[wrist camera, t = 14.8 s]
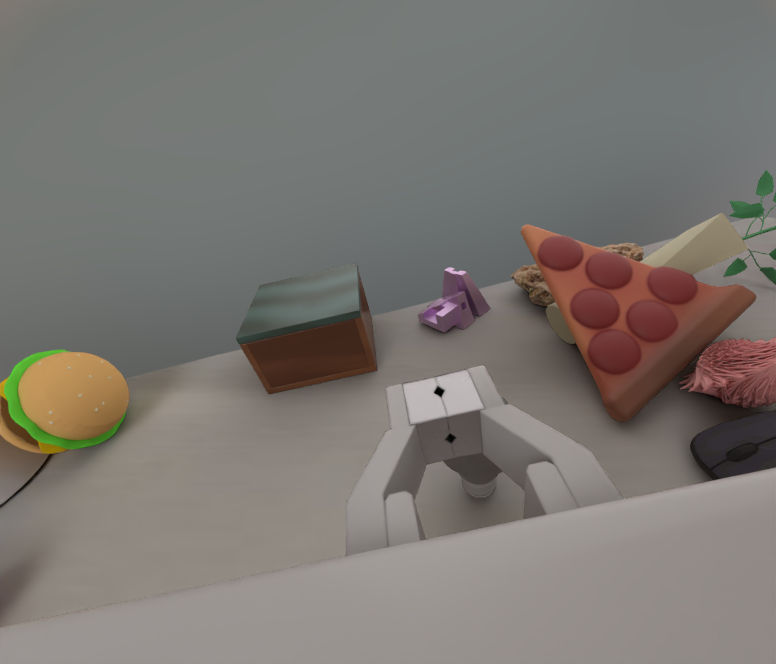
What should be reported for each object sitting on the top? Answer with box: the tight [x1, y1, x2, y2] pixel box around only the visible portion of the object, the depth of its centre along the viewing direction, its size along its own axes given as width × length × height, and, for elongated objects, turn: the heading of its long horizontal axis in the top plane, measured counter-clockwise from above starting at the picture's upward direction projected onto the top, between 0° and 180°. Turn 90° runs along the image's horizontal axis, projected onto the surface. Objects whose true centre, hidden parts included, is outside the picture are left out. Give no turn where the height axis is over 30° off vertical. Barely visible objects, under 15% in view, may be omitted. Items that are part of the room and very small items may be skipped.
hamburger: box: [0, 350, 129, 454], centre depth 39 cm, size 12×12×9 cm
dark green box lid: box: [236, 263, 361, 344], centre depth 41 cm, size 12×14×1 cm
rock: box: [511, 243, 644, 306], centre depth 46 cm, size 17×5×10 cm
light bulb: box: [443, 397, 509, 498], centre depth 25 cm, size 6×6×10 cm
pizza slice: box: [521, 225, 756, 422], centre depth 34 cm, size 18×2×20 cm
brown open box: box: [240, 275, 377, 394], centre depth 44 cm, size 12×14×8 cm
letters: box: [418, 267, 491, 333], centre depth 45 cm, size 8×7×6 cm
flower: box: [679, 337, 776, 408], centre depth 28 cm, size 8×8×6 cm
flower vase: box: [546, 170, 776, 344], centre depth 38 cm, size 12×12×35 cm
